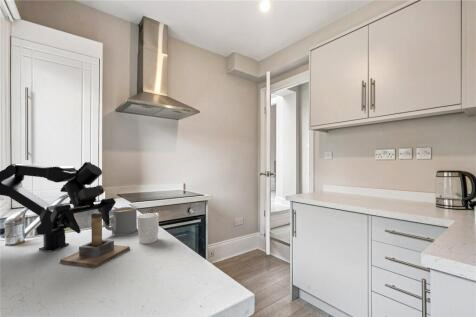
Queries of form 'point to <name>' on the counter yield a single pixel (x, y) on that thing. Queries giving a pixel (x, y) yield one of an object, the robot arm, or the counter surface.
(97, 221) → the wooden peg
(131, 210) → the coffee mug
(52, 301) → the counter surface
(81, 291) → the counter surface
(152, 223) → the white cup
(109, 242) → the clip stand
